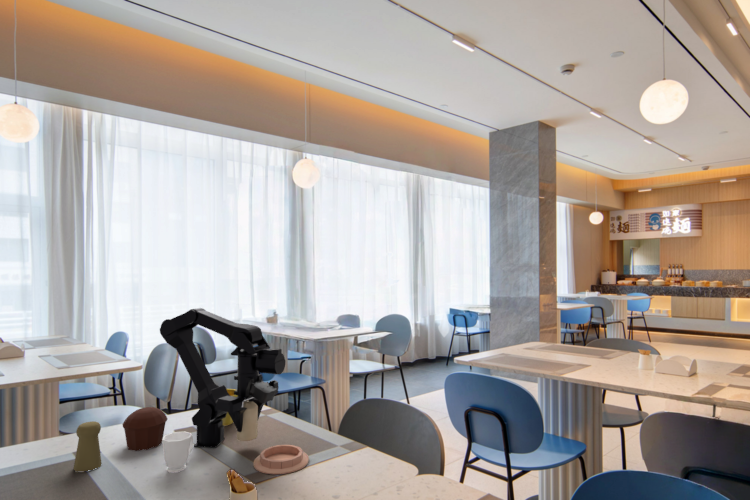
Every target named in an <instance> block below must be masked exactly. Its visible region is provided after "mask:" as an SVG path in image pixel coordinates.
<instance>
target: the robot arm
mask: <svg viewBox="0 0 750 500" xmlns="http://www.w3.org/2000/svg"><path fill="white" fill-rule="evenodd" d="M197 326H200V327H203V328H205V329H208V330H210V331H212V332H214V333H216V334H219V335H222V336H224V337H225V338H226V339H228V341H229V342H230V343H231V344H232V345H234V346H236V348H235V349H233V351H231V353H230V356H237V373H236V374H237V375H234V376H233V380H234V381H236V386H237V387H236V389H235V391H234V395H238V397H233V396H230V395H229V394H228V392H227V389H228V388H226V386H225V385H220V386H219V385H217V384H216V383H215V382H214V380H213V377H212V376H211V374H210V372H209V370H208V368H207V366H206V364H205V363H204V360H203V359H202V357H201V354H200V353H199V350H198V348H197V347H196V345H195V342H194V328H196V327H197ZM159 333H160V335H161V337H162V338H163V340H164V341H165V342H166V344H168V345H169V346H171V347H172V348H174V349H175V350H176V352H177V354H178V356H179V357H180V358H179V359H180V360H181V362H182V364H183V366H184V368H185V369H186V371H187V374H188V375H189V376H188V377H190V380H191V381H192V383H193V386H194V387H195V390H196V391H197V406H198V409H199V410H198V411H196V413H195V414H194V415H193V416H192V417H191V421H192V424H193V426H196V442H195V443H193V448H217V447H218V446H219V445H220V444H221V443H223V442H224V440H225V426H224V425H222V421H223V420H221V419H223V418H225V417H226V415H227V412H228V413H229V415H230V417H231V418H232V420H233V424H234V426H235V429H236V432H237V431H238V432H241V431H242V426H243V413H244V412H245V410H246V409H247V408H245V407H243V403H244V402H245V401H250V402H252V401H253V402H254V403H256V404H257V405H258V420H259V418H260V415H261V412H262V409H263V407H264V405H265V404H266V403H268V402H270V401H274V397H275V396H277V395H278V393H279V381H278V380H276V379H273V380H271V381H269V382H268V381H266V382H265V381H264V379H263V378H264V377H263V375H262V374H267V375H268V374H269V375H270V374H271V375H281V374H283V372H284V370H285V367H286V358H285V355H284V353H282V350H283V349H281V348H271V346H270V345H269V344H268V342H267V340H266V338H265V337H264V335H263V332H262V329H261V327H259V326H257V325H253V324H248V323H238V322H234V321H232V320H229V319H227V318H225V317H222V316H221V315H217V314H216V313H213V312H210V311H207V310H206V309H205V308H203V307H202V308H201V307H198V308H192V309H189V310H187V311H185V312H184V313H181V314H179V315H177V316H175V317H172V318H168V319H165V320H163V321H162V322H161V325H160V327H159Z"/></svg>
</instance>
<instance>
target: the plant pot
mask: <svg viewBox="0 0 750 500" xmlns="http://www.w3.org/2000/svg"><path fill="white" fill-rule="evenodd" d="M226 389H227V392H228V394H229V395H230V396H233V397H238V395H234V391H235V390H236V389H234V388H226ZM221 420H223V421H222V425H224V427H227V426H230V425H232V424H234V422H233V420H232V418H231V417H230V415H229V413H228V412H227V415H226V417H225V418H223V419H221Z"/></svg>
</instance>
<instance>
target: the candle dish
mask: <svg viewBox="0 0 750 500" xmlns="http://www.w3.org/2000/svg"><path fill="white" fill-rule="evenodd" d="M309 461H310V458H309V455H308V453H306V452H305V451H304V450H303V449H302V448H301V446H296V445H294V444H278V445H272V446H269V447H267V448H263V450H261V452H260V454H259V455H257V457H256V458H254V460H253V469H255V470H256V471H257V472H259V473H262V474H266V475H287V474H291V473H295V472H298V471H300V470H302V469H304V468H305V467H306V466H307V465H308V464H309Z"/></svg>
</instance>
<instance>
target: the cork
mask: <svg viewBox="0 0 750 500" xmlns="http://www.w3.org/2000/svg"><path fill="white" fill-rule="evenodd" d="M101 428H102V426H101V424H100V422H99V421H96V420H95V421H86V422H82V423H80V424H79V425H78V427H77V429H76V431H75V432H76V434H75V435H76V436H77V438H78V441H77V448H76V454H75V459H74V463H73V464H74V465H73V469H74V470H75V471H88V470H93V469H95V468H97V469H99V468H100V467H102V465H101V464H103V463H102V456H101V448H100V440H99V434H100V432H101ZM98 467H99V468H98ZM95 470H96V469H95ZM93 471H94V470H93Z"/></svg>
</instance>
